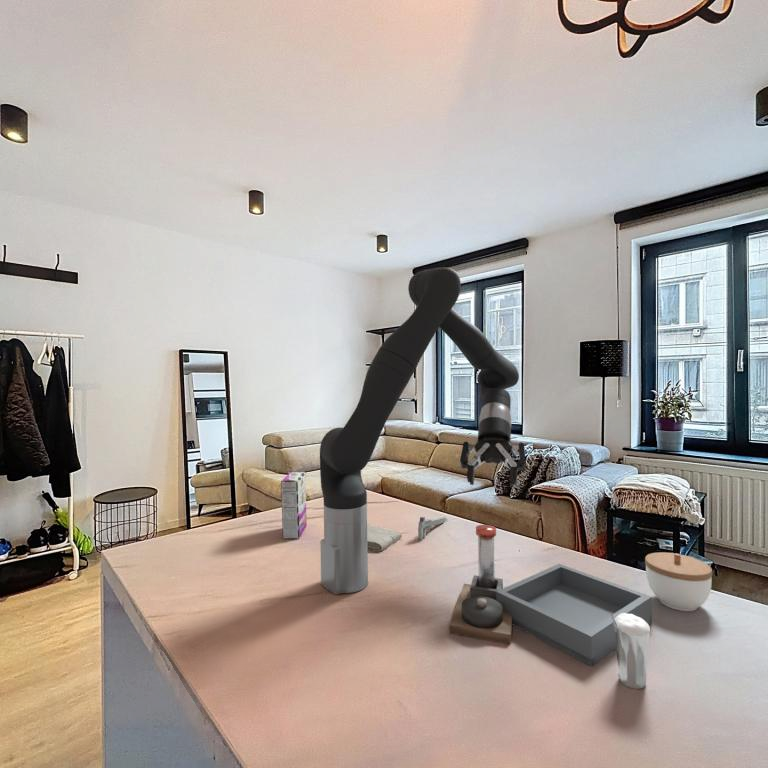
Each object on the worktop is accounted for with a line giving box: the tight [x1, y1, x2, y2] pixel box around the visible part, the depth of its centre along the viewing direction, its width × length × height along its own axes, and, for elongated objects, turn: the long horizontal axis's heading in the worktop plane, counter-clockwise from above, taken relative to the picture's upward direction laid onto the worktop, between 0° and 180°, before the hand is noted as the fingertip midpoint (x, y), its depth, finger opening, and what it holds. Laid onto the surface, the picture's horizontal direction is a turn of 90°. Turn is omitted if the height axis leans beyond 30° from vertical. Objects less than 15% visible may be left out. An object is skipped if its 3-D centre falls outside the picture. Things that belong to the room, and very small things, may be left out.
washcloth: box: [367, 524, 403, 552], centre depth 122 cm, size 12×18×3 cm, turn 60°
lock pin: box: [475, 524, 497, 589], centre depth 85 cm, size 4×4×13 cm
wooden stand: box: [449, 574, 513, 644], centre depth 82 cm, size 16×10×4 cm, turn 161°
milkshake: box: [610, 612, 651, 690], centre depth 63 cm, size 5×5×10 cm
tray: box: [496, 563, 653, 667], centre depth 80 cm, size 20×18×4 cm
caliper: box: [417, 516, 448, 541], centre depth 129 cm, size 20×1×6 cm, turn 152°
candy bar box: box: [280, 471, 307, 540], centre depth 128 cm, size 11×5×16 cm, turn 179°
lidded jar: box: [644, 551, 713, 612], centre depth 85 cm, size 11×11×9 cm
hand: (491, 484), depth 96 cm, fingers open, 8 cm apart
